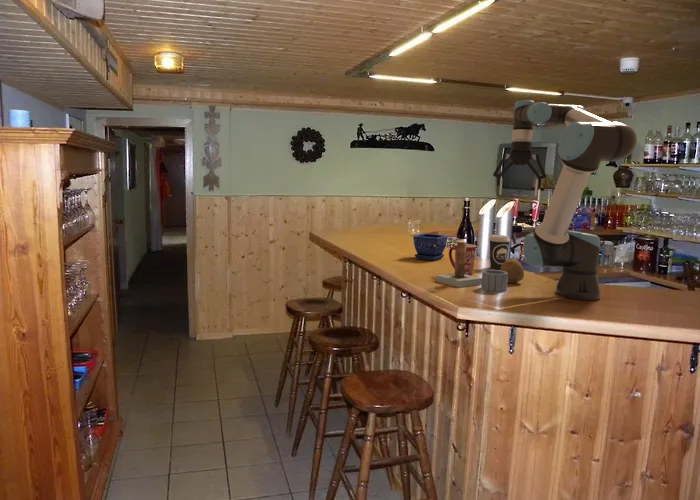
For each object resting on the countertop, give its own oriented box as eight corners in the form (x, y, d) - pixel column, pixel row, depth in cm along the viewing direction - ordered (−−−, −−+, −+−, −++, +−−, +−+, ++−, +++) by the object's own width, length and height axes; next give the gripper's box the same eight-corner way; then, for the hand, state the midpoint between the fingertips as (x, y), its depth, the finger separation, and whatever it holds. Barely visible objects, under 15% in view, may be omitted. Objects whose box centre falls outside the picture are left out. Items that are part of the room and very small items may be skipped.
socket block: (481, 285, 210) (481, 278, 209) (458, 288, 203) (459, 281, 203) (458, 280, 220) (459, 272, 219) (436, 282, 213) (437, 275, 212)
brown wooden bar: (465, 283, 211) (468, 242, 208) (459, 284, 209) (461, 243, 206) (459, 281, 214) (461, 241, 211) (452, 282, 212) (455, 242, 209)
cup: (511, 291, 201) (512, 273, 200) (494, 294, 196) (496, 275, 195) (492, 287, 208) (493, 269, 207) (476, 289, 203) (477, 270, 202)
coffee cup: (510, 268, 251) (513, 236, 249) (504, 271, 243) (507, 237, 241) (490, 265, 257) (492, 234, 254) (484, 268, 249) (486, 236, 246)
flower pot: (436, 262, 263) (437, 237, 261) (411, 259, 270) (412, 235, 268) (447, 258, 274) (448, 235, 272) (423, 256, 281) (424, 233, 279)
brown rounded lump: (498, 280, 222) (500, 256, 220) (521, 282, 220) (523, 257, 219) (500, 284, 213) (502, 259, 212) (524, 286, 211) (526, 261, 210)
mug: (479, 277, 226) (481, 245, 224) (464, 280, 221) (466, 247, 219) (456, 272, 236) (458, 242, 234) (441, 274, 231) (443, 243, 229)
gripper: (554, 142, 215) (550, 196, 218) (489, 141, 221) (486, 193, 224) (556, 141, 207) (551, 196, 211) (488, 140, 214) (485, 194, 217)
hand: (517, 195), depth 217 cm, fingers open, 13 cm apart
